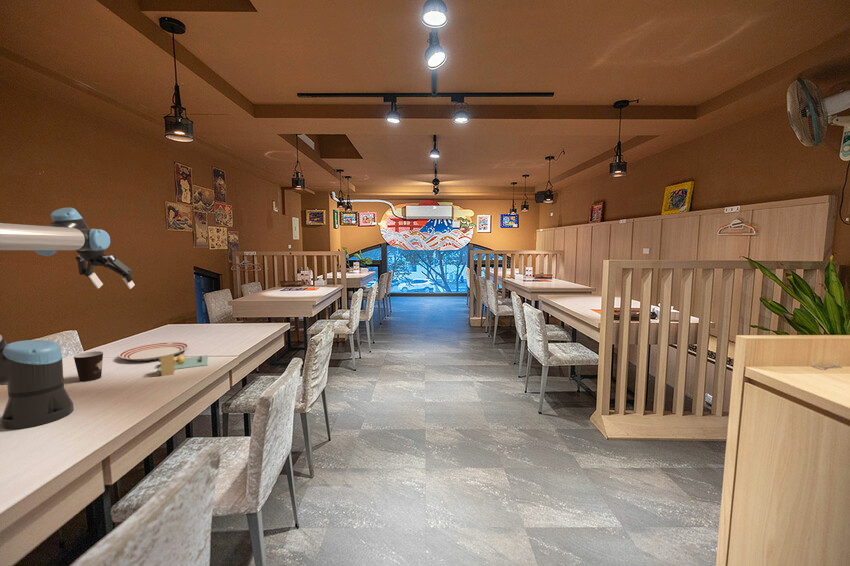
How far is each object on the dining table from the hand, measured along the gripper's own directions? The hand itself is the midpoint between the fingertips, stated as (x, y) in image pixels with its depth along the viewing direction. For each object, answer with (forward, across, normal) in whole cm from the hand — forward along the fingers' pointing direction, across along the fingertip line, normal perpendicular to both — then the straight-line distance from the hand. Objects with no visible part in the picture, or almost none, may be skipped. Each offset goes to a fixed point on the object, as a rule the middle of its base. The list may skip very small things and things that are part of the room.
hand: (116, 286), depth 155 cm
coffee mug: (+22, 0, +31) cm, 38 cm away
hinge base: (+32, -24, +16) cm, 43 cm away
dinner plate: (+40, -2, +6) cm, 40 cm away
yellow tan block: (+24, -26, +26) cm, 44 cm away
